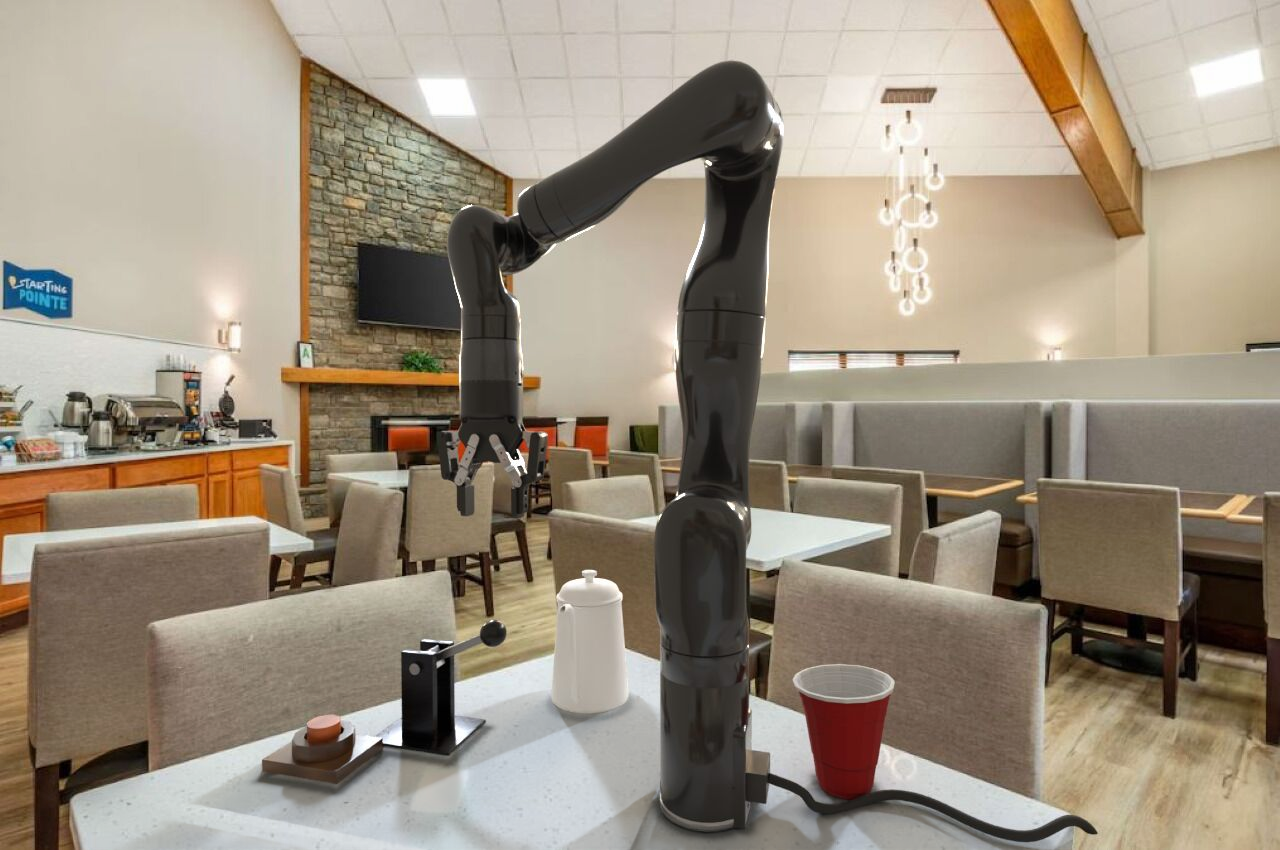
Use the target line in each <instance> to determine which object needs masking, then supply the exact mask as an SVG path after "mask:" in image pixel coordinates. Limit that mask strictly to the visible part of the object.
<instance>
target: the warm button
mask: <svg viewBox="0 0 1280 850" xmlns="http://www.w3.org/2000/svg"><path fill="white" fill-rule="evenodd" d="M341 721H342V718H341V716H339V715H338V714H324V715H319V716H316V717H313V718H312V719H310V720H308V722H307V723H306V726H307V741H311V742H321V741H327V740H330V739H333V738H336V737H337V736H339V735H340V734H341Z"/></svg>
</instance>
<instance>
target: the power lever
mask: <svg viewBox="0 0 1280 850" xmlns="http://www.w3.org/2000/svg"><path fill="white" fill-rule="evenodd" d="M507 631H508V630H507V627H506V625H505V624H504V623H503V622H502V621H500V620H498V619H490V620H487V621H485V623H483V625H482V626H481V628H480V631H479V633H478V634H477V635H474V636H472V637H470V638H468V639H465V640H462V641H461V642H458V643H456V644H455V643H454V645H453V646H451V647H448V648H446V649H443V650H441V651H440V648H439V646H438V645H437V646H435V647H433V648H430V649H428V650H426V651H428V652H437V668H438V667H440V666H441V665H443V664H444V663H445V661H444V659H445V658H448V657H450V656H452V655H454V656H455V655H457V654H460V653H462V652H465V651H467V650H469V649H471V648H474V647H477V646H478V645H482V644H483V645H485V646H486V647H487V648H497V647H500V645H502V644H503V643H504V642H505V640H506V639H507V633H508V632H507Z"/></svg>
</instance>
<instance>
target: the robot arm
mask: <svg viewBox="0 0 1280 850" xmlns="http://www.w3.org/2000/svg"><path fill="white" fill-rule="evenodd" d="M784 136H785V123H784V119H783V114H782V111H781V108H780V105H779V104H778V102H777V101H776V98H775V97H774V95H773V93H772V92H771V90H770V88H769V86H768V84H767V83H766V81H765V79H764V78H763V76H762V75H761V74H760V73H759V72H758V70H757V69H755V68H754V67H753V66H751V65H750V64H749V63H746V62H744V61H740V60H733V59H732V60H723V61H720V62H716V63H713V64H712V65H710V66H707V67H706V68H704V69H703V70H701V71H699V72H698V73H696V74H695V75H693V76H692V77H690V78H689V79H688V80H687V81H685V82H684V83H683V84H681V85H680V86H678V87H677V88H676V89H675V90H673V91H672V92H671V93H669V94H668V95H667V96H665V97H664V98H663V99H662V100H661V101H660V102H658V103H657V104H655V105H654V106H653V107H652V108H650V109H649V110H648V111H646V112H645V113H644V114H642V115H641V116H639V118H637V119H636V120H635V121H634V122H632V123H630V124H629V125H628V126H626V127H625V128H624V129H623V130H622V131H620V132H618V133H617V134H616V135H615V136H613V137H612V138H611V139H609V140H607V141H606V142H605V143H603V144H602V145H601V146H598V148H596V149H595V150H593V151H592V152H590V153H588V154H587V155H585V156H584V157H582V158H580V159H577V161H574V162H573V163H571V164H569V165H567V166H565V167H563V168H561V169H559V170H558V171H555V172H554V173H551V174H550V175H547V176H546V177H545V178H542V179H540V180H539V181H538V182H535V183H533V184H531V185H530V186H528V187H527V188H525V189H524V190H523V191H522V192H521V193H520V194H519V196H518V199H517V201H516V210H517V213H515V214H514V215H510V216H505V215H503V214H501V213H498V212H496V211H494V210H492V209H489V208H486V207H484V206H480V205H467V206H465V207H463V208H461V209H460V210H459V211H457V212H456V213H455V214H454V216H453V218H452V220H451V221H450V224H449V226H448V229H447V234H446V250H447V257H448V261H449V266H450V270H451V274H452V278H453V281H454V286H455V290H456V293H457V296H458V300H459V304H460V309H461V312H460V329H461V330H460V340H461V341H460V351H459V361H458V362H459V363H458V364H459V365H458V366H459V369H458V371H459V372H458V374H459V379H458V380H459V416H460V419H461V423H460V426H459V428H458V430H441V431H440V430H439V431H438V432H437V433H436V439H437V449H438V456H439V457H438V458H439V459H438V460H439V465H440V467H439V468H440V474H441V475H440V476H441V478H442V480H445V481H450V482H452V483H454V485H455V487H456V509H457V511H458V512H459V514H460V516H461V517H470V516H473V515H474V514H475V484H472V483H473V481H474V480H475V477H476V475H477V473H478V470H479V469H481V468H482V466H483V464H484V463H488V462H491V463H492V464H500V465H501V467H502V468H503V470H504V471H505V472H506V473H507V475H508V477H509V479H510V482H511V484H512V486H513V487H510V517H511V519H514V520H520V519H522V518H524V516H525V514H526V513H528V510H529V486H530V485H531V484H534V483H536V482H539V481H542V480H544V477H545V471H546V470H545V469H546V458H547V452H548V451H547V450H548V441H549V440H548V439H549V435H548V434H549V433H547V432H546V431H542V430H541V431H531V430H526V428H525V426H524V422H523V417H524V376H525V372H524V365H523V364H524V362H523V361H524V360H523V353H522V345H521V344H522V343H521V339H522V338H521V337H522V335H521V306H520V305H521V304H520V302H519V299H518V298H517V296H516V295H514V294H513V293H512V292H510V291H509V290H508V289H507V288H506V286H505V285H504V282H503V278H502V276H503V277H504V276H511V275H515V274H518V273H521V272H523V271H525V270H527V269H528V268H530V267H532V266H533V265H534V264H535V263H536V262H538V261H539V260H540V259H541V258H543V257H544V256H545V255H546V254H548V253H549V252H550V251H551V250H552V249H553V248H554V247H555V246H556V245H557V244H560V243H562V242H564V241H567V240H569V239H571V238H573V237H576V236H577V235H579V234H581V233H583V232H585V231H588V230H590V229H591V228H594V227H595V226H597V225H599V224H601V223H602V222H604V221H606V220H607V219H609V217H611V216H612V215H613V214H615V213H616V212H617V211H618V210H619V209H621V207H622V206H623V205H624V204H625V203H626V202H627V201H628V200H629V199H630V198H631V197H632V196H633V195H634V194H635V193H636V191H638V190H639V189H640V188H641V187H642V186H644V185H645V184H646V183H647V182H649V181H650V180H651V179H653V178H655V177H656V176H659V175H661V174H662V173H664V172H665V171H667V170H670V169H672V168H675V167H677V166H680V165H683V164H685V163H689V162H692V161H695V160H701V161H702V162H703V165H704V167H703V168H704V179H705V180H704V181H705V183H704V186H705V187H704V188H705V189H704V191H705V192H704V215H703V216H704V217H703V222H702V227H701V228H702V230H701V232H700V233H701V234H700V236H699V240H698V243H697V245H696V248H695V251H694V253H693V256H692V258H691V261H690V262H689V265H688V267H687V270H686V272H685V276H684V278H683V281H682V283H681V288H680V292H679V297H678V303H677V311H676V313H677V314H676V325H675V340H674V369H675V381H676V389H677V398H678V404H679V410H680V418H681V425H682V426H681V427H682V446H681V447H682V448H681V449H682V450H681V460H680V465H679V466H680V467H679V474H678V481H677V486H676V492H675V495H674V498H673V499H672V500H671V501H670V502H668V504H667V505H666V506H665V507H664V508H663V509H662V511H661V512H660V514H659V516H658V518H657V520H656V525H655V529H654V538H653V576H654V577H653V578H654V581H653V582H654V606H655V607H654V608H655V615H656V621H657V622H658V625H659V669H660V670H659V671H660V672H659V679H660V680H659V706H660V707H659V723H660V724H659V726H660V727H659V728H660V729H659V735H660V737H659V739H660V740H659V741H660V742H659V743H660V745H659V746H660V748H659V752H660V753H659V755H660V756H659V758H660V760H659V761H660V762H659V766H660V767H659V768H660V780H659V808H660V811H661V813H662V814H663V816H665V818H666V819H668V820H669V821H670V822H672V823H673V824H675V825H677V826H680V827H682V828H684V829H688V830H692V831H697V832H710V833H711V832H721V831H726V830H729V829H733V828H737V829H745V828H747V824H748V823H747V821H748V818H749V815H750V810H751V803H756V804H762V805H767V801H768V795H769V788H770V785H772V786H775V787H777V788H780V789H782V790H786V791H788V792H791V793H793V794H795V795H796V796H798V797H800V798H801V800H802V801H803V802H804V804H805V805H806V807H807V808H809V810H811V811H812V812H814V813H816V814H821V815H836V814H841V813H844V812H848V811H852V810H855V809H859V808H862V807H866V806H869V805H871V804H875V803H879V802H884V801H902V802H909V803H913V804H916V805H921V806H924V807H926V808H929V809H931V810H934V811H936V812H939V813H941V814H943V815H945V816H947V817H949V818H951V819H953V820H955V821H956V822H959V823H961V824H962V825H965V826H968V827H970V828H971V829H974V830H975V831H978V832H981V833H983V834H986V835H989V836H991V837H994V838H997V839H1002V840H1006V841H1011V842H1017V843H1033V842H1034V843H1035V842H1039V841H1041V840H1045V839H1047V838H1050V837H1052V836H1054V835H1056V834H1057V833H1059V832H1061V831H1063V830H1065V829H1067V828H1070V827H1076V828H1079V829H1080V830H1082V831H1083V832H1084V833H1085V834H1087V835H1094V836H1095V835H1098V834H1099V831H1097V829H1096V828H1095V827H1094V826H1093V824H1092V823H1090V822H1089V821H1088V819H1087V820H1086V819H1085V818H1083V817H1081V816H1079V815H1075V814H1065V815H1061V816H1059V817H1057V818H1055V819H1053V820H1051V821H1049V822H1047V823H1046V824H1043V825H1041V826H1039V827H1036V828H1032V829H1025V830H1023V829H1012V828H1007V827H1002V826H999V825H995V824H992V823H989V822H987V821H984V820H981V819H980V818H977V817H974V816H972V815H970V814H967V813H966V812H964V811H962V810H959V809H957V808H956V807H954V806H952V805H949V804H947V803H945V802H943V801H941V800H938V799H936V798H933V797H930V796H928V795H926V794H922V793H919V792H914V791H909V790H904V789H881V790H880V789H879V790H875V791H871V793H868V794H865V795H862V796H859V797H857V798H854V799H848V800H846V801H843V802H838V803H824V802H821V801H817V800H815V798H814V797H813V795H812V794H811V792H809V790H808V789H806V788H805V787H803V786H802V785H800V784H798V783H797V782H795V781H793V780H790V779H789V778H785V777H782V776H779V775H776V774H774V773H771V752H769V751H762V750H761V751H760V750H753V741H752V740H753V734H752V733H753V715H752V714H753V710H752V708H751V707H750V620H749V616H748V609H747V550H748V547H749V544H750V542H751V538H752V532H753V527H752V526H753V525H752V511H751V509H752V508H751V494H750V493H751V491H750V445H751V437H752V436H751V435H752V429H753V425H754V419H755V414H756V409H757V402H758V396H759V389H760V384H761V375H762V366H763V360H764V350H765V337H766V336H765V335H766V323H767V319H766V318H767V306H768V305H767V304H768V301H767V299H768V283H769V280H768V279H769V261H770V260H769V259H770V258H769V256H770V255H769V253H770V252H769V251H770V249H769V248H770V246H769V245H770V244H769V243H770V241H769V239H770V223H771V213H772V207H773V200H774V194H775V190H776V184H777V178H778V173H779V167H780V162H781V156H782V151H783V150H782V149H783V146H784V145H783V144H784V143H783V142H784V138H785V137H784ZM523 442H525V446H526V448H527V449H528V456H527V466H526V467H525V465H526V464H525V460H524V458H523V457H522V454H521V452H520V450H519V448H520V447H521V445H522V444H523ZM461 443H462V445H463V446H464V448H465V449H464V451H463V452H464V453H463V455H462V457H461V459H460V458H459V450H458V449H459V448H458V447H459V446H460V444H461Z"/></svg>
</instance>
